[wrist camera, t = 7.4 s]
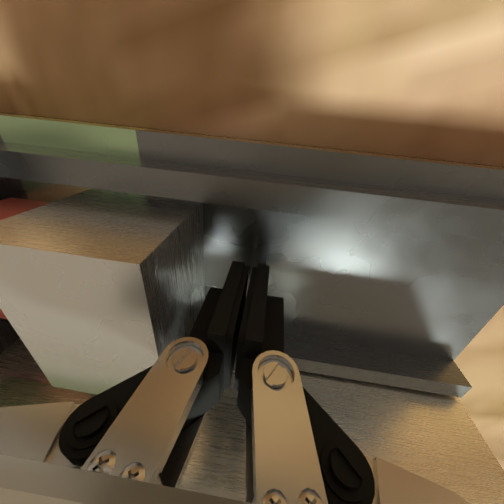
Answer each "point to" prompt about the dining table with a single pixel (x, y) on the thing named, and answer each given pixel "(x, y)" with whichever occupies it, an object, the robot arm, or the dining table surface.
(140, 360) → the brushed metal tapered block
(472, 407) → the dining table surface
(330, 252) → the grey compartment tray
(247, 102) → the dining table surface
